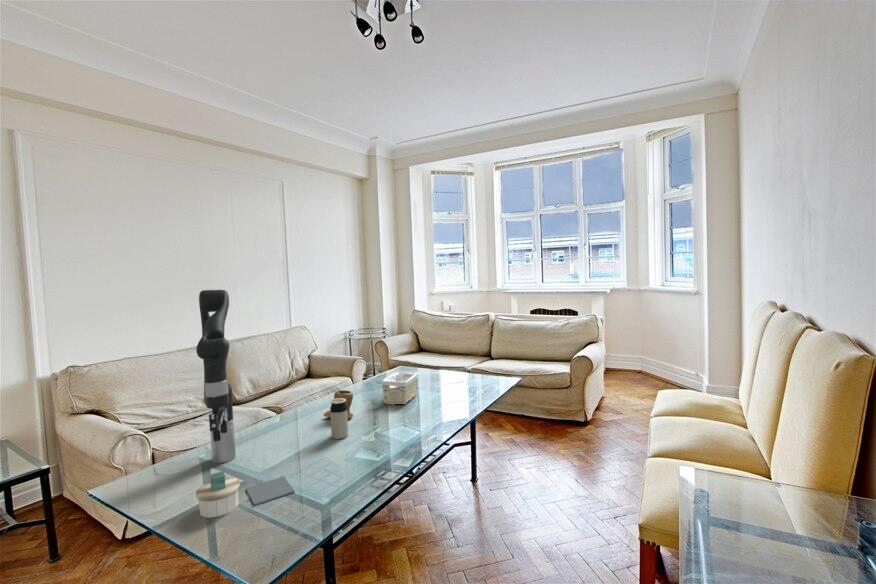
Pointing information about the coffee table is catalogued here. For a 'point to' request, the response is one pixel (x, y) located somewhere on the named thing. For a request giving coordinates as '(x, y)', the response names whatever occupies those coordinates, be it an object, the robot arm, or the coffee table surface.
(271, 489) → the mat
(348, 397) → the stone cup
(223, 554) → the coffee table surface
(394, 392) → the storage basket
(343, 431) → the travel mug
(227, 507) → the bowl
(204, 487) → the lid
